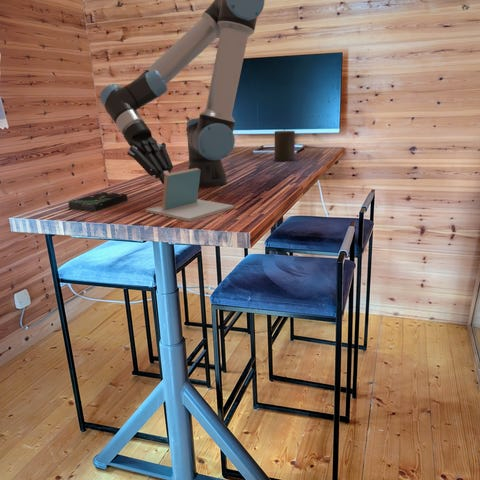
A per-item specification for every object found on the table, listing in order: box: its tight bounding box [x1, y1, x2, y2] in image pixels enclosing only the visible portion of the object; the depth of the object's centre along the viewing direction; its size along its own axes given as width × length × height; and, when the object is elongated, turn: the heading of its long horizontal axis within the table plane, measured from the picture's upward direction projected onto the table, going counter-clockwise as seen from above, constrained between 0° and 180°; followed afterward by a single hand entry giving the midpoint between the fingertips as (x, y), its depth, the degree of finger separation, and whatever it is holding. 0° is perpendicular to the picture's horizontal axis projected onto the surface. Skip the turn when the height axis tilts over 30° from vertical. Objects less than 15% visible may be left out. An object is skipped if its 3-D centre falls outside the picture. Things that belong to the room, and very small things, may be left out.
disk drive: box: [67, 191, 128, 212], centre depth 135 cm, size 10×3×15 cm
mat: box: [145, 198, 234, 222], centre depth 125 cm, size 17×18×1 cm
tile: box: [161, 168, 201, 210], centre depth 125 cm, size 12×2×10 cm, turn 139°
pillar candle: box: [274, 128, 296, 162], centre depth 213 cm, size 10×10×15 cm
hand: (175, 191), depth 126 cm, fingers closed
